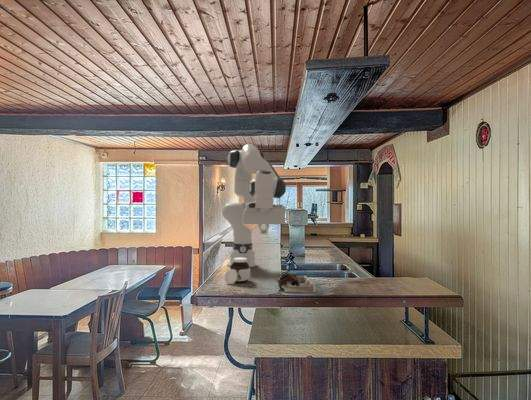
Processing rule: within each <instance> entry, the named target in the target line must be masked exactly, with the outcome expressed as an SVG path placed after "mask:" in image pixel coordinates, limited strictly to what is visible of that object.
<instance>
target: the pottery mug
mask: <svg viewBox="0 0 531 400" xmlns="http://www.w3.org/2000/svg"><path fill="white" fill-rule="evenodd" d="M296 276H297V275H296V274H294V273H291V272H289V273H285V274H283V275H282V276H280V277H281V278H280V280H277V283H278V288H279V289H281V288H282V287H283V285H286V286H288V283H290V284H291V285H290V286H301V285H300V283H299V282H298V280H297V277H296ZM285 278H286V279H285Z"/></svg>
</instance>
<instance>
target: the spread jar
mask: <svg viewBox="0 0 531 400" xmlns="http://www.w3.org/2000/svg"><path fill="white" fill-rule="evenodd" d="M233 261H234V262H233V263H232V265H231V266H229V267H230V268H229V270H228V269H227V271H226V272H225V274H224V281H225V283H226V284H228V285H234V284H246V283H247V282H248V281H249V280H250V278H251V267H250V265H249V264H248V263H247V258H243V257H238V258H234V260H233Z"/></svg>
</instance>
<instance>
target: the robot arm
mask: <svg viewBox="0 0 531 400" xmlns="http://www.w3.org/2000/svg"><path fill="white" fill-rule="evenodd" d="M265 158H266V157H265V155H264V153H263V152H262V151H260V150H259V149H258V147H257V146H255V144H252V143H247V144H245V145H243V146H242V148H241V149H240V150H238V149H234V150H231V151H229V153H228V155H227V163H228V165H229V167H230V168H234V169H235V171H234V182H233V183H234V187H233V188H234V191H233V192H234V193H235V195H236V196H237V197H238V198H242V199H243V202H231V203H227V204H224V206H223V207H222V210H221V214H222V217H223V218H224V219H225V220H226V221H227V222H228V223H229V224H230V226H231V228H232V231H233V243H232V251H231V252H230V254H229V258H230V259H229V262H228V263H227V265H226V266H227V267H231V265H232V263H233V262H234V261H233V260H234V258H238V257H243V258H247V263H248V264H249V265H250V268H252V267H257V266H259V264H258V263H257V262H256V261H255V259H256V258H255V257H256V255H255V252H254V251H253V242H252V239H253V237H252V235H253V232H252V230H251V228H249V227H248V226H246V225H258V229H259V231H260V234H261V235H263V234H265V235H267V233H268V230H269V228H270V225H285V223H286V216H285V215H286V210H287V209H286V206H285V205H283V204H274V199H280V198H282V197H283V196H284V195H285V193H286V191H287V189H286V188H287V187H286V183H285V181H284V180H283V178H281V177H280V176H279V174H278V173H277V171H276V169H275V168H274V167H273V165H272V164H271V163H270V162H269V161H267V160H266V159H265ZM253 174H255V177H254V178H253ZM262 225H265V229H263V228H262Z"/></svg>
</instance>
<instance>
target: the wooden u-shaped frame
mask: <svg viewBox="0 0 531 400" xmlns="http://www.w3.org/2000/svg"><path fill="white" fill-rule="evenodd" d="M281 277H282V276H281V275H277V279H278V280H280V278H281ZM296 277H297V280H298V282H300V283H304V284H305V285H300V286H296V285H295V286H294V285H287V286H286V285H283V286H282V287H283V288H284V290H283V291H284V293H316V291H317V286H316V285H315V284H314V282H312V281H311V280H310V279H309V278H308V277H307V275H303V276H302V275H301V276H297V275H296ZM285 279H286V278H285ZM278 280H277V281H278Z"/></svg>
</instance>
